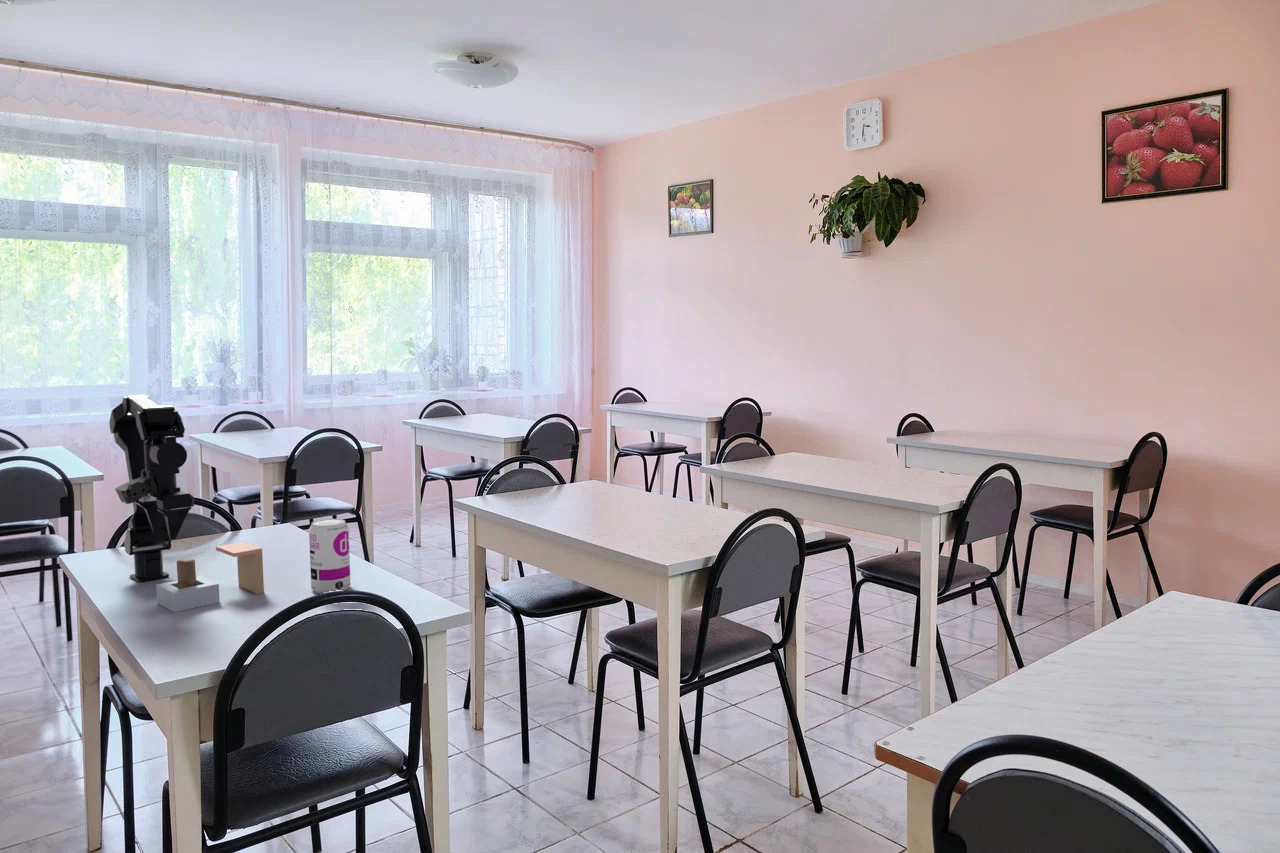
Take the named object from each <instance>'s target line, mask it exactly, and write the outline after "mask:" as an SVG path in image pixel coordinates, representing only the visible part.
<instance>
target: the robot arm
mask: <svg viewBox="0 0 1280 853" xmlns="http://www.w3.org/2000/svg"><path fill="white" fill-rule="evenodd" d="M121 401H122V402H121V403H120V404H118V405H117V406H115V407H114V408H113V409H112V410H111V413H110V418H109V430H110V433H111V434H113V436H114V438H113V439H114V442H115V444H117V445H118V447H120V448H121V450H122V451H123V452H124V455H125V461H126V467H127V468H126V469H127V474H128V482H125V483H122V484H121V485H119V486H117V487H115V488H114V490H115V492H116V494H117V495H118V498H119V500H120V501H121V503H124V504H126V505H130V504H132V505H133V506H132V507H133V513H132V515H131V517H130V518H129V519H130V520H129V522H128V524H127V527H128V528H126V532H125V533H126V534H125V538H124V542H123V543H124V544H123V545H124V551H125V553H126V554H127V555H128V556H133V562H134V563H133V564H134V573H132V574H129V578H131V579H132V580H135V581H137V582H140V583H141V582H147V581H151V580H157V579H161V578H168V577H170V573H169V572H168V573H167V572H166V571H164V563H163V560H164V559H163V551H166V550H167V551H168V550H169V551H170V550H171V548H172V540H176V539H177V537H178V535H179V532H180V531H181V528H182V526H183V523H184V521H185V519H186V518H187V516H188V514H189V513H190V512H189V511H190V510H192V507H195V498H194V496H193V495H192V494H190V493H188V492H185V491H181V487H180V486H178V485H177V474H180V468H181V467H182V466H183V465H185V463H186V461H187V459H188V453H187V452H188V451H187V450H186V447H184V445H182V444H181V443H179V442H177V438H179V439H181V438H184V437H185V431H186V430H185V429H186V428H185V427H184V423H183V420H182V416H181V415H180V414H179V411H178V410H177V409H176V408H175V407H174V405H172V404H163V405H161V404H160V405H159V404H158V403H156V402H154V401H153V400H151V399H150V396H149V395H146V394H134V395H133V394H132V395H126V396H123V398H122V400H121Z"/></svg>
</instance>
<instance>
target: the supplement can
mask: <svg viewBox="0 0 1280 853" xmlns="http://www.w3.org/2000/svg"><path fill="white" fill-rule="evenodd" d="M349 531H350V530H349V526H348V524H347V523H346V520H345V519H341V518H325V519H324V518H323V519H319V520H314V521H312V522H311V525H310V527H309V529H308V538H309V539H308V541H309V545H308V546H309V560H310V561H309V567H310V587H311V590H312V591H313V592H314V593H316V594H320V593H324V592H329V591H336V590H345V591H347V590H348V589H349V588H350V586H351V565H350V564H351V563H350V562H351V561H350V560H351V559H350V558H351V557H350V537H349V536H350V534H349V533H350V532H349ZM346 589H347V590H346ZM317 592H318V593H317Z"/></svg>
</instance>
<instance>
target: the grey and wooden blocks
mask: <svg viewBox="0 0 1280 853" xmlns="http://www.w3.org/2000/svg"><path fill="white" fill-rule="evenodd" d="M215 551H217V552H220V553H222V554H225V555H228V556H230V557H233V558H236V559H237V578H238V587H240V588H243V589H245V590H247V591H250V593H251V592H252V593H254V594H256V595H260V594H264V593H265V583H264V564H263V563H264V562H263V548H262V547H260V546H256V545H254V544H251V543H249V542H245V541H241V542H233V543H229V544H223V545H217V546H215ZM155 587H156V589H155V590H156V602H157V603H156V604H158V605H159V606H162V607H163V608H165V609H168V610H169V611H170V612H173V613H178V612H182V611H183V612H184V611H186V610H191V609H195V607H197V608H200V606H201V607H204V606H205V605H206V606H210V605H213V604H218V603H220V601H221V600H220V599H221V598H220V583H219V582H215V581H213V580H211V579H209V578H207V577H204V576H202V575H198V576H197V575H196V586H192V587H187V588H182V589H179V588H178V579H177V580H174V581H168V582H162V583H157V584H155ZM209 604H210V605H209Z"/></svg>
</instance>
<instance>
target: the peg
mask: <svg viewBox="0 0 1280 853" xmlns="http://www.w3.org/2000/svg"><path fill="white" fill-rule="evenodd" d="M176 573H177V574H176V575H177V576H176V577H177V580H178V588H179V589H182V588H187V587H192V586H196V577H197V575H196V573H197V571H196V560H195V559H194V558H183V559H179V560H176Z"/></svg>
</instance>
